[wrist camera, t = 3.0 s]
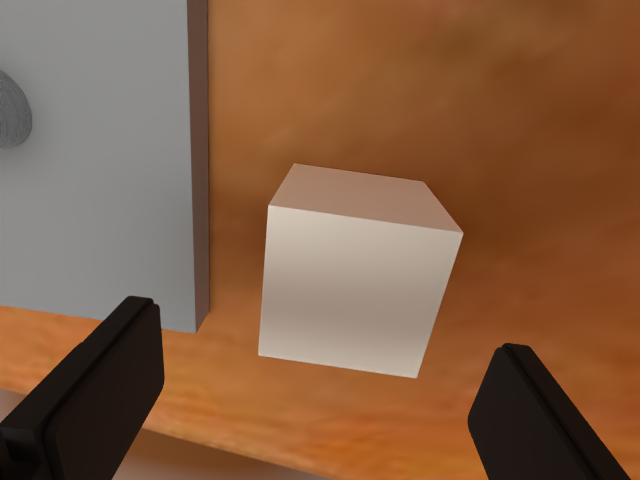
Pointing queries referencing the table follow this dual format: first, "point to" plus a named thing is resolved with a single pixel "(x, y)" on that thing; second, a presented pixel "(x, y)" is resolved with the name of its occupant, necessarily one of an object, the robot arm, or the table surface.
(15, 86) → the post
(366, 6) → the table surface
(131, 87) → the board
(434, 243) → the matte white box
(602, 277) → the table surface
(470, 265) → the table surface
